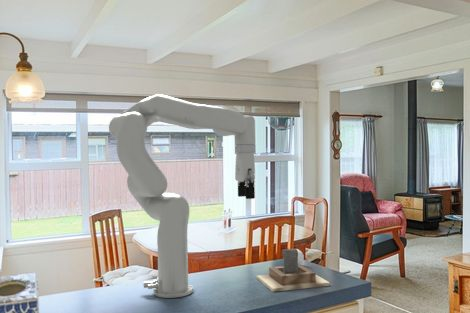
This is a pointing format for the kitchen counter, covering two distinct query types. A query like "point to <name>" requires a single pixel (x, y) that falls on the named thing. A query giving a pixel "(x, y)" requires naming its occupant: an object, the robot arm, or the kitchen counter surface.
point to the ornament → (300, 257)
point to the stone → (290, 261)
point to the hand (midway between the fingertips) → (246, 197)
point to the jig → (291, 279)
